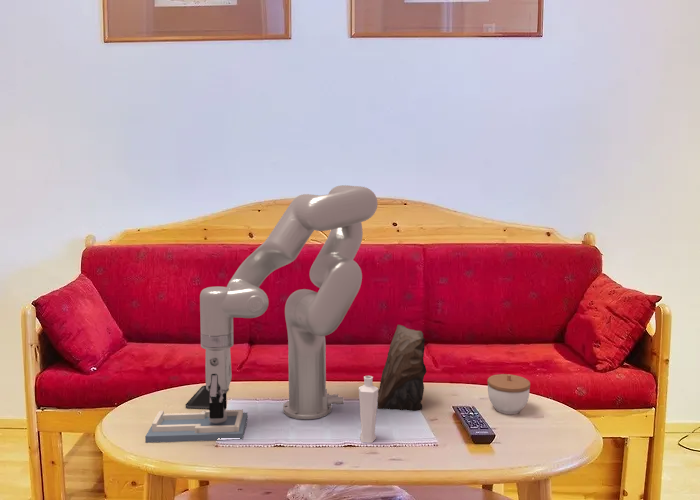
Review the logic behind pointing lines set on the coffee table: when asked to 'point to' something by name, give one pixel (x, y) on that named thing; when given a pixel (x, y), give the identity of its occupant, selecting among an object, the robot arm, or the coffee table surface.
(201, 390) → the phone
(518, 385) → the lidded jar
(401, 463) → the coffee table surface
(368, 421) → the perfume bottle
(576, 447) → the coffee table surface
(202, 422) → the keyhole board
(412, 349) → the brown rock
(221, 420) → the rook chess piece
